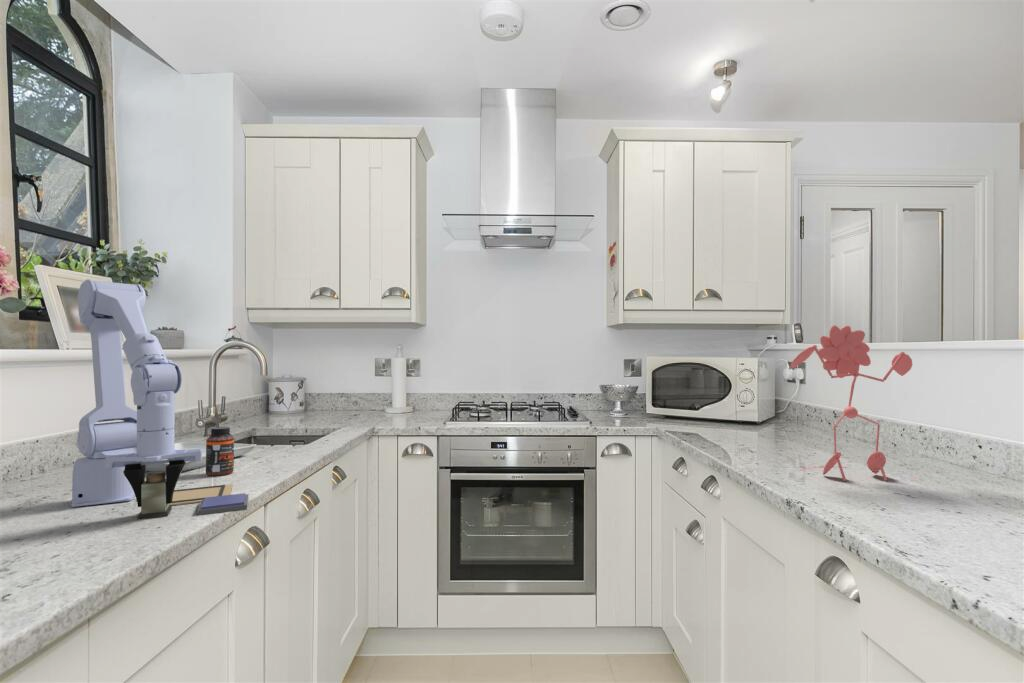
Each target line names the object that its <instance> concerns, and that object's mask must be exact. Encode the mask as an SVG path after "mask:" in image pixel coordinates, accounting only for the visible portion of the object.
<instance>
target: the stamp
mask: <svg viewBox="0 0 1024 683" xmlns="http://www.w3.org/2000/svg"><path fill="white" fill-rule="evenodd" d="M166 491H167V477H166V473H165V472H149V473H147V474H145V482H144V483H143V484H142V485H141V507H140V512H139V513H138V515H137V520H138V519H140V520H147V519H156V518H164V517H168V516H169V515H170V513H171V512H172V508H173V506H172V505H170V506H169V504H166Z"/></svg>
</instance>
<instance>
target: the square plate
mask: <svg viewBox="0 0 1024 683" xmlns="http://www.w3.org/2000/svg"><path fill="white" fill-rule="evenodd" d="M256 446H257V444H255V443H254V444H251V443H236V442H234V457H235V458H236V457H240V456H243V455H246V454H248V453H250V452H251V451H252V450H253V449H254V448H255V447H256ZM195 449H202V460H201V461H186V463H185V465H184V467H183V469H182V471H183V472H187V471H186V470H189V471H192V470H191V469H193V470H196V469H195V468H197V469H199V468H198V467H200V468H203V467H202V466H204V467H206V441H201V442H200V441H199V442H196V441H193V442H189V441H184V442H183V441H182V442H181V441H180V442H174V450H195ZM164 460H168V459H164ZM157 461H159V460H157ZM143 462H147V461H143ZM168 464H169V463H162V464H150V465H146V469H145V472H146V471H154V472H153V473H155V472H166V466H167V465H168Z"/></svg>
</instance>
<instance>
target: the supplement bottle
mask: <svg viewBox="0 0 1024 683" xmlns="http://www.w3.org/2000/svg"><path fill="white" fill-rule="evenodd" d="M205 442H206V466H205V475H206V476H210V477H220V476H227V475H230V474H232V473H233V472H234V468H235V467H234V464H235V458H234V443H235V437H234V436H233V435H232V434H231V427H230V426H213V427H211V429H210V436H209V437H207V438H206V441H205Z"/></svg>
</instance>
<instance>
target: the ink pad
mask: <svg viewBox="0 0 1024 683" xmlns="http://www.w3.org/2000/svg"><path fill="white" fill-rule="evenodd" d="M248 504H249V494H248V493H247V494H246V492H243V493H237V494H234V493H233V494H230V495H225V496H216V497H207V498H205V499H202V502H200V504H199V507H198V509H197V511H196V512H197V516H200V515H211V514H216V513H223V512H224V513H225V512H227V513H228V512H234V511H242V510H247V509H248Z"/></svg>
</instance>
